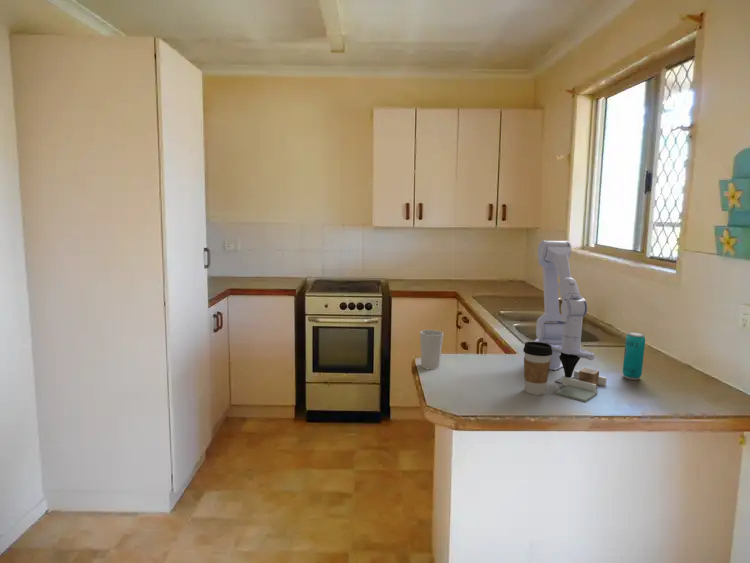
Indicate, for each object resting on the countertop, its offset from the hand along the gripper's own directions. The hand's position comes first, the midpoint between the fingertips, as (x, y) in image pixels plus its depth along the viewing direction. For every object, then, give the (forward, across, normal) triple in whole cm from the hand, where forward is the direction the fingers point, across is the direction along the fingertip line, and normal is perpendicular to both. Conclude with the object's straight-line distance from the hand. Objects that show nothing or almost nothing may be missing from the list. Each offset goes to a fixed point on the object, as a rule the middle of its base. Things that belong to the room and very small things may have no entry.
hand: (568, 376), depth 174 cm
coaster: (+1, +7, -10) cm, 12 cm away
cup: (+2, -40, -20) cm, 45 cm away
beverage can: (+2, +14, +19) cm, 23 cm away
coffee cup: (+2, -3, -17) cm, 17 cm away
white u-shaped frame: (+1, +4, 0) cm, 4 cm away
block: (+2, +6, 0) cm, 7 cm away
